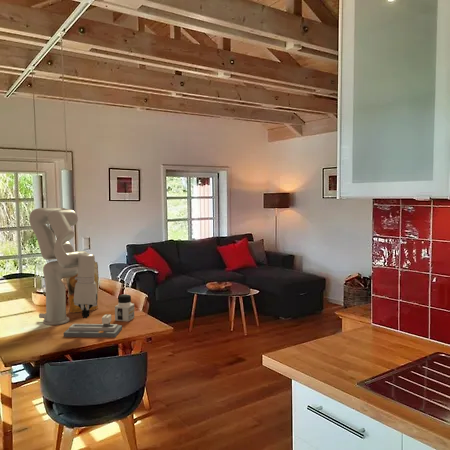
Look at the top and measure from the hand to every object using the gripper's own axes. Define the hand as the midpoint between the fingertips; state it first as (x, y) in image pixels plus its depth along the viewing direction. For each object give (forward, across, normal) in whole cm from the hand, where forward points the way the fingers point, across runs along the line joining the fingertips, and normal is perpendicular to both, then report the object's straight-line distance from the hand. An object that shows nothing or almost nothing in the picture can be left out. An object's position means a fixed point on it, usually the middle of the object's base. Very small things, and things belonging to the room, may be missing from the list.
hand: (85, 317), depth 201 cm
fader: (+5, +10, -1) cm, 11 cm away
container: (+8, +13, +22) cm, 27 cm away
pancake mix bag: (+9, -15, +38) cm, 42 cm away
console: (+7, +4, -1) cm, 8 cm away
